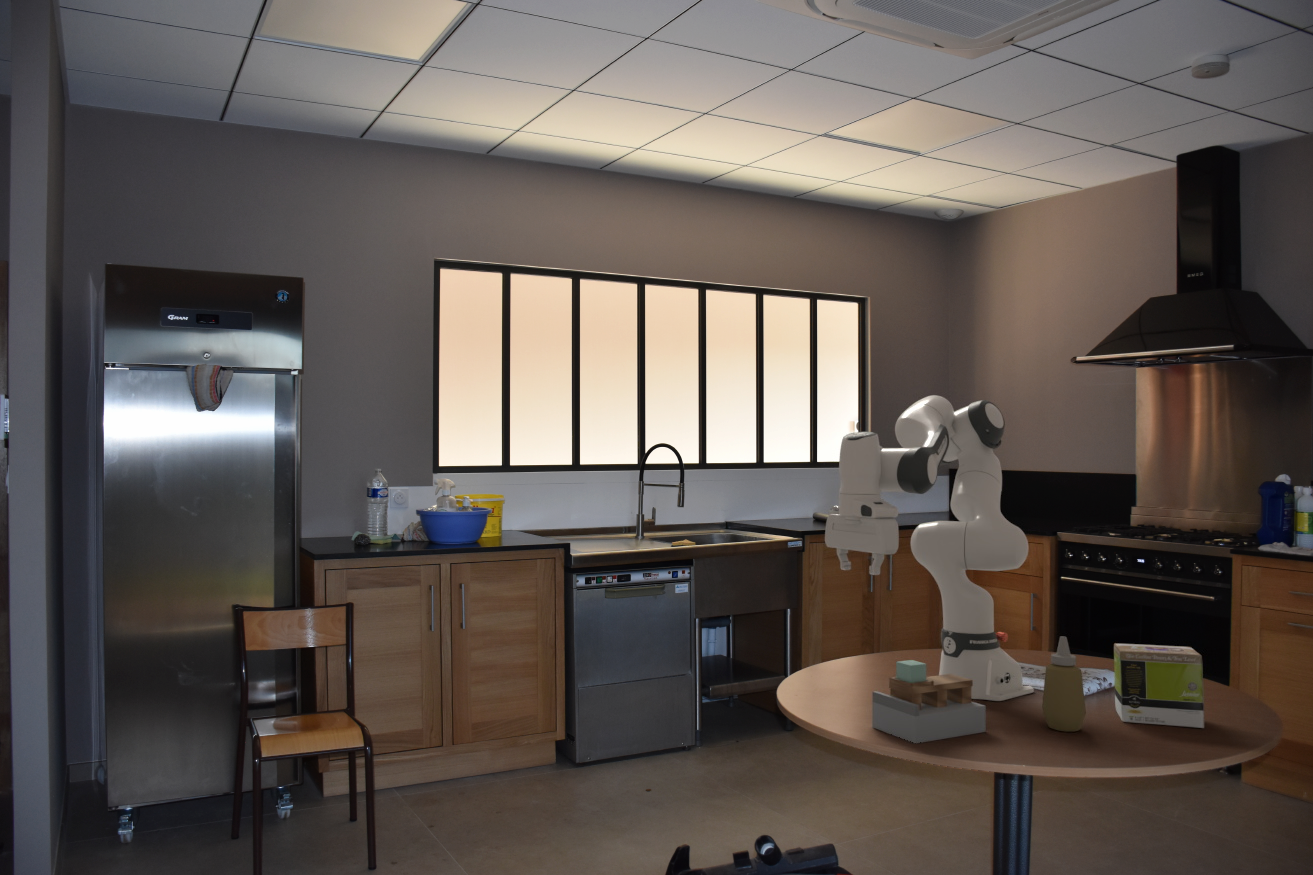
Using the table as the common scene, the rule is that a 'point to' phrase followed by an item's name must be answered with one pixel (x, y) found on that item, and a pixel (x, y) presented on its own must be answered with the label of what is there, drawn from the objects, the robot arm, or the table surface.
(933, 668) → the table surface
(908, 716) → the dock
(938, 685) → the pallet
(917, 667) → the mint green cube
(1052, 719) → the squeeze bottle
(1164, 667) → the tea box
